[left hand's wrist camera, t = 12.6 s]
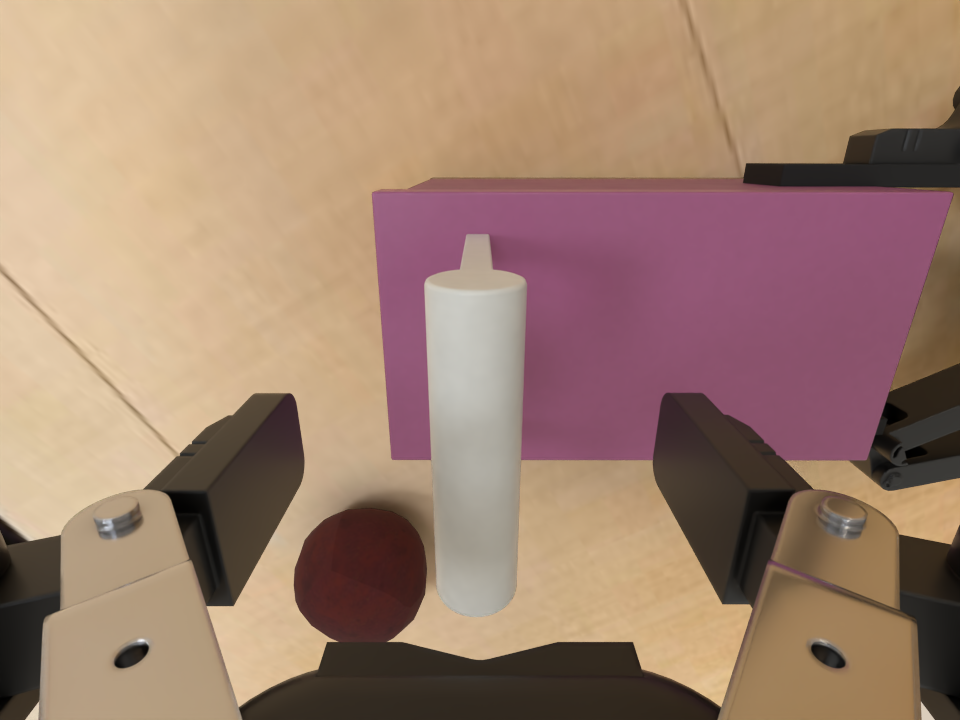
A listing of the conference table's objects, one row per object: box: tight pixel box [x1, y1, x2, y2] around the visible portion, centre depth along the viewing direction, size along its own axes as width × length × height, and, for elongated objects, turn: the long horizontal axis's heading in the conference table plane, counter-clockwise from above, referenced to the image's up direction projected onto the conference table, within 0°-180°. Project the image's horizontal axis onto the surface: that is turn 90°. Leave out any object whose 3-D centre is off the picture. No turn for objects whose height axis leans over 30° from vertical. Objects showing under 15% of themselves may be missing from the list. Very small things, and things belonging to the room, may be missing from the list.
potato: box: [294, 508, 427, 642], centre depth 30 cm, size 7×8×7 cm
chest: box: [409, 178, 916, 190], centre depth 22 cm, size 16×9×10 cm, turn 90°
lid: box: [372, 189, 953, 617], centre depth 14 cm, size 17×9×9 cm, turn 90°
